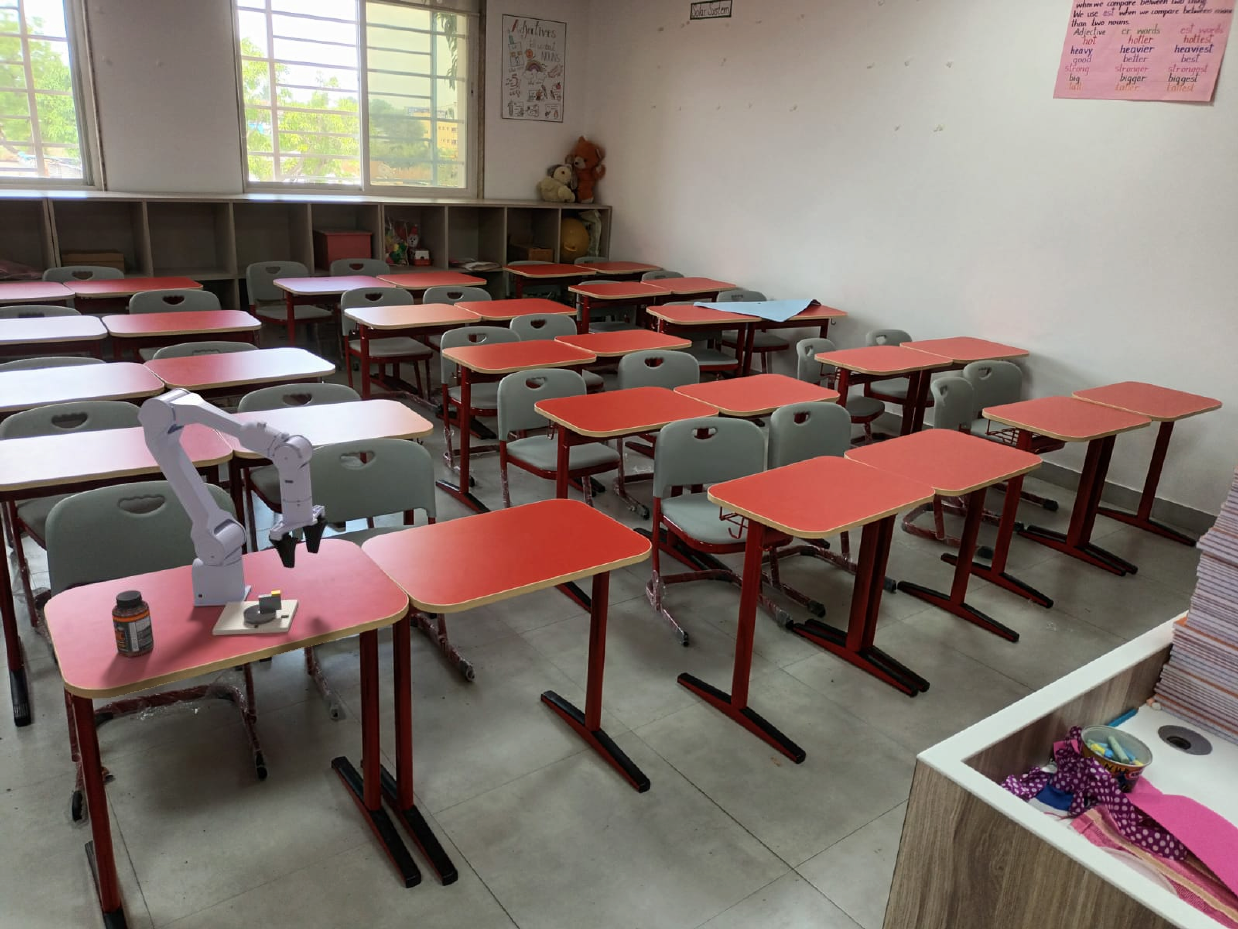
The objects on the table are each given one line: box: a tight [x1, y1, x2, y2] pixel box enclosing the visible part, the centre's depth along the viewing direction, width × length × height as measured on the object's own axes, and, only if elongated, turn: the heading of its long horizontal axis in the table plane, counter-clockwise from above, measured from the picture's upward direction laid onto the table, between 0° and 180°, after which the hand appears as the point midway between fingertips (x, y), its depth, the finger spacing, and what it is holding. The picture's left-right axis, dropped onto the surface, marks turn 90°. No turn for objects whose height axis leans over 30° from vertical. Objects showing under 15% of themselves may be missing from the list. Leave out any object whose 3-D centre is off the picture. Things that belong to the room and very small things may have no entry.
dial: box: [243, 590, 282, 624], centre depth 170 cm, size 7×6×5 cm
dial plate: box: [212, 599, 299, 636], centre depth 172 cm, size 14×12×1 cm
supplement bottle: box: [111, 589, 155, 658], centre depth 157 cm, size 6×6×11 cm
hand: (301, 559), depth 176 cm, fingers open, 7 cm apart
